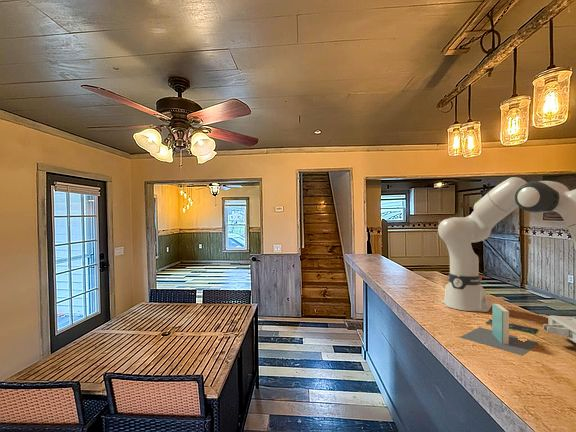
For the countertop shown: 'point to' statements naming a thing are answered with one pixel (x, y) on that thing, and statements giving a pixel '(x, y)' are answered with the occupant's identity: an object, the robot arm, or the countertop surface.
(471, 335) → the mat
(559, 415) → the countertop surface
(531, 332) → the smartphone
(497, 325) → the tile
